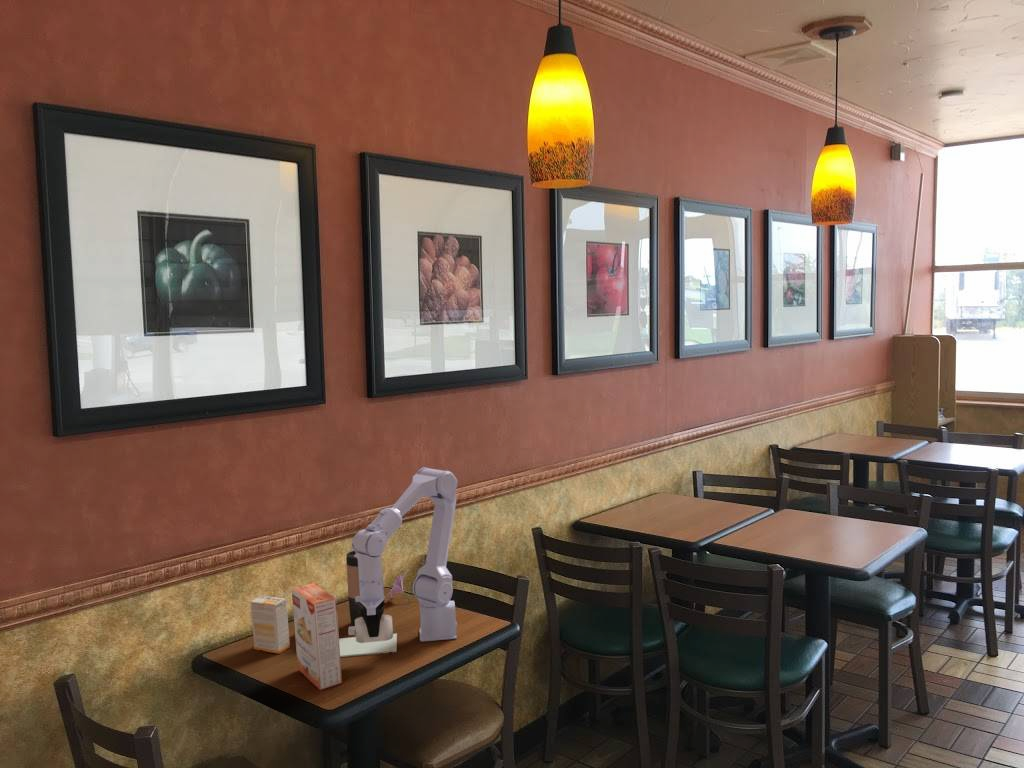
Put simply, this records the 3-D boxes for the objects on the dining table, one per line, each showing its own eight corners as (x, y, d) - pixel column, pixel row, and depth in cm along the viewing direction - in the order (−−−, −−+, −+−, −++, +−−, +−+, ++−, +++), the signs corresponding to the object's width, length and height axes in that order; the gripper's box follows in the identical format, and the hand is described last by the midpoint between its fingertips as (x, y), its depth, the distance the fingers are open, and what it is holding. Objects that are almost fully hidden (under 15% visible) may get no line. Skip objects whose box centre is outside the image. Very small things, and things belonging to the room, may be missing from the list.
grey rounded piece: (393, 633, 206) (392, 614, 205) (393, 640, 202) (391, 620, 201) (349, 637, 204) (348, 618, 204) (348, 644, 200) (347, 624, 200)
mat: (396, 634, 220) (396, 633, 219) (396, 652, 209) (396, 650, 209) (335, 640, 218) (335, 638, 217) (331, 658, 207) (331, 656, 207)
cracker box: (296, 671, 200) (290, 587, 198) (319, 663, 204) (314, 581, 202) (318, 692, 189) (312, 603, 187) (343, 684, 192) (337, 597, 190)
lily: (410, 595, 252) (393, 568, 252) (431, 588, 244) (414, 561, 243) (383, 619, 244) (365, 591, 243) (404, 613, 235) (386, 584, 235)
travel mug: (384, 621, 229) (379, 551, 227) (365, 631, 223) (360, 559, 220) (363, 617, 233) (359, 547, 231) (344, 626, 227) (339, 555, 225)
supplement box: (291, 647, 215) (287, 598, 213) (278, 654, 210) (274, 604, 209) (266, 642, 218) (262, 594, 217) (253, 649, 214) (249, 600, 212)
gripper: (356, 570, 208) (359, 622, 210) (352, 590, 194) (356, 646, 195) (384, 568, 209) (387, 620, 210) (382, 588, 195) (386, 643, 196)
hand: (374, 632), depth 203 cm, fingers closed on grey rounded piece, 4 cm apart
